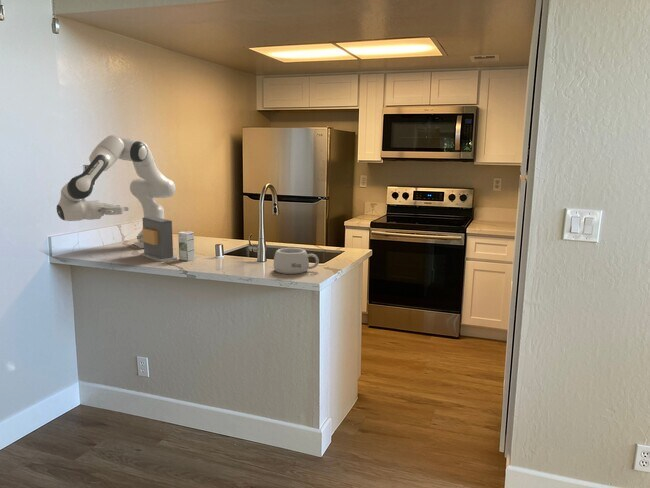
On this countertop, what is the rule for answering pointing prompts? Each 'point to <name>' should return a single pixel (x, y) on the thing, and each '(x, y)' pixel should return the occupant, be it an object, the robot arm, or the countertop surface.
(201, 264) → the countertop surface
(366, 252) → the countertop surface
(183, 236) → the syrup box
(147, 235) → the switch button
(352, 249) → the countertop surface
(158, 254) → the switch box
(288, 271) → the mug
